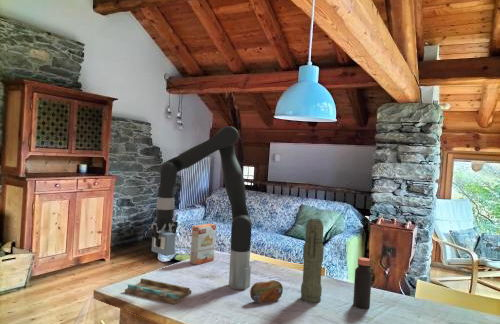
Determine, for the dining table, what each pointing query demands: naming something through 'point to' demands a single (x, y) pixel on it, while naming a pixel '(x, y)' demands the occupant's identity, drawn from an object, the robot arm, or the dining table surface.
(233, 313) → the dining table surface
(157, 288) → the brown flat frame
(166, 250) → the carton
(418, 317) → the dining table surface
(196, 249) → the cracker box
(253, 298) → the tin
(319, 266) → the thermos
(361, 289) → the bottle
